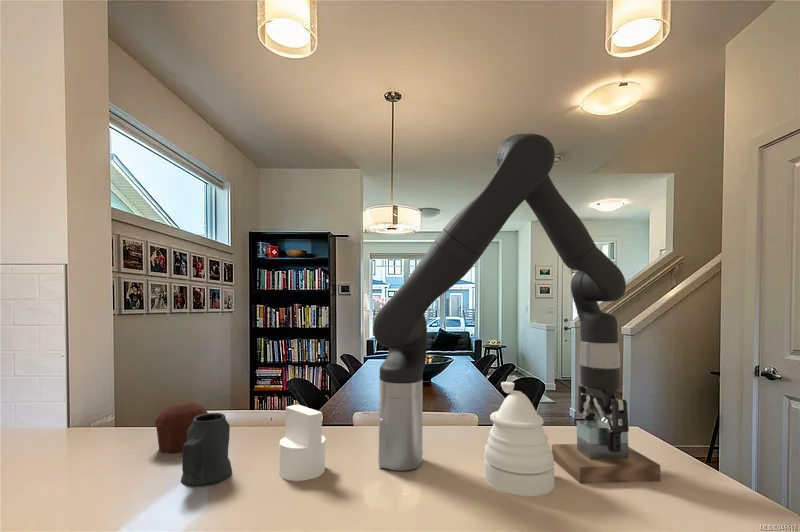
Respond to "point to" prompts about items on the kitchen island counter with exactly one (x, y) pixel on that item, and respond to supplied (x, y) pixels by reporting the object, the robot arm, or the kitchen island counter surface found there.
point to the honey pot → (518, 448)
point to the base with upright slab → (302, 445)
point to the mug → (206, 451)
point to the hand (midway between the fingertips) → (602, 444)
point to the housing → (598, 441)
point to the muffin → (176, 425)
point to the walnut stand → (605, 466)
